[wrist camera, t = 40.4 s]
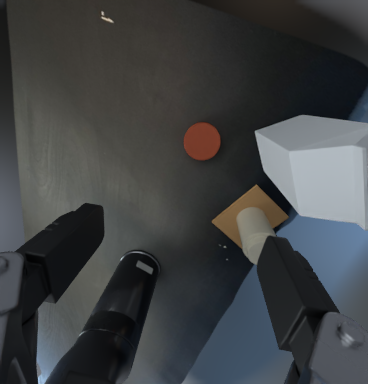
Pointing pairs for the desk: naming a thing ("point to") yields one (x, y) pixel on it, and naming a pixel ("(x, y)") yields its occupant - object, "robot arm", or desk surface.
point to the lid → (202, 141)
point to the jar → (253, 231)
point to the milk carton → (319, 166)
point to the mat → (249, 199)
